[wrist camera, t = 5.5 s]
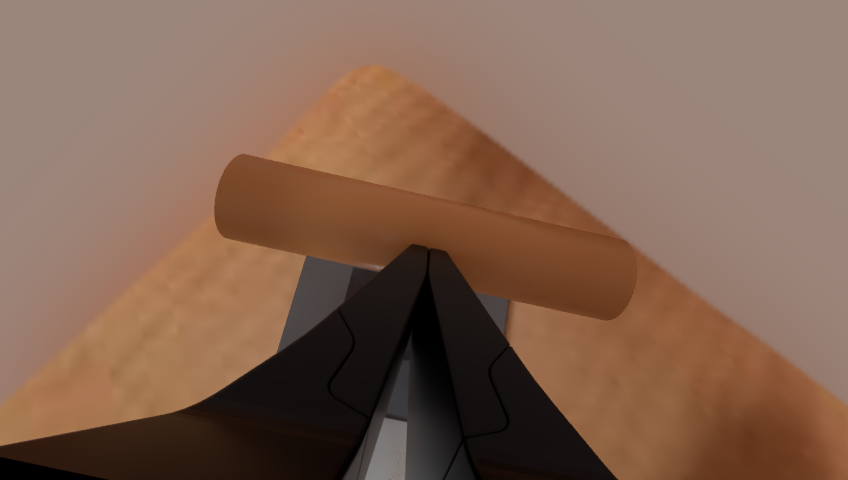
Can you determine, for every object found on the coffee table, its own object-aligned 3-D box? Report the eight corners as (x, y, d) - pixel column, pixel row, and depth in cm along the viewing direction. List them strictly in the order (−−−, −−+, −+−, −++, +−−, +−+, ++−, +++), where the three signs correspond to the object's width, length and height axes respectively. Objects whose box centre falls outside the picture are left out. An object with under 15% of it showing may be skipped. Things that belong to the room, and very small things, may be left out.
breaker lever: (500, 359, 18) (639, 309, 8) (292, 315, 17) (202, 213, 8) (504, 314, 19) (634, 225, 9) (307, 272, 18) (241, 135, 9)
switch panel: (466, 558, 19) (498, 637, 14) (235, 516, 19) (176, 581, 13) (505, 263, 24) (540, 239, 19) (322, 223, 23) (305, 186, 18)
